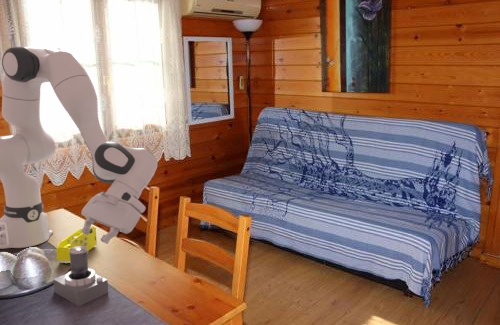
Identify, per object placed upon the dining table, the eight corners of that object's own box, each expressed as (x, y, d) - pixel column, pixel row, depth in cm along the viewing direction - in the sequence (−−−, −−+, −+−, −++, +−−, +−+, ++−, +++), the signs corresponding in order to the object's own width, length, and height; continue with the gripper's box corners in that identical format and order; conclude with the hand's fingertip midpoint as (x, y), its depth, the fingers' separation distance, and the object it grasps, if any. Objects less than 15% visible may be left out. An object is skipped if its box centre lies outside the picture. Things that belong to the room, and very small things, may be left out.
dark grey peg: (68, 279, 115) (66, 249, 113) (82, 274, 118) (80, 244, 116) (77, 284, 112) (75, 254, 110) (91, 278, 116) (90, 248, 114)
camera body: (54, 292, 116) (52, 274, 114) (83, 279, 123) (82, 262, 122) (79, 306, 109) (77, 287, 108) (108, 292, 116) (107, 274, 115)
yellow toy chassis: (73, 266, 131) (71, 242, 130) (56, 265, 132) (54, 240, 130) (98, 246, 147) (96, 224, 145) (83, 245, 148) (81, 223, 146)
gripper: (93, 185, 126) (65, 223, 120) (137, 198, 115) (108, 242, 109) (106, 195, 131) (80, 233, 125) (149, 209, 119) (122, 252, 113)
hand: (93, 237), depth 117 cm, fingers open, 8 cm apart
